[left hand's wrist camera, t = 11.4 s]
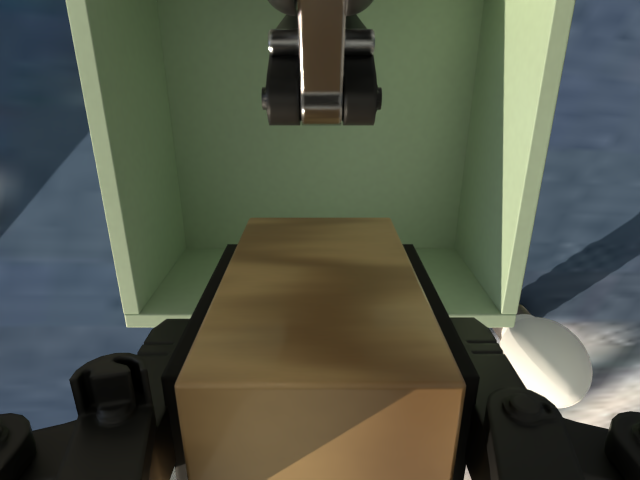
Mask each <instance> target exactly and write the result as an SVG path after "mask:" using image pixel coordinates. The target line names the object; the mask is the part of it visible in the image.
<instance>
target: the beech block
mask: <svg viewBox="0 0 640 480" xmlns="http://www.w3.org/2000/svg"><path fill="white" fill-rule="evenodd" d="M174 387H175V394H176V401H177V408H178V415H179V422H180V429H181V435H182V442H183V449H184V456H185V463H186V470H187V477H188V480H453V473H454V466H455V459H456V452H457V446H458V439H459V432H460V425H461V418H462V411H463V405H464V398H465V391H466V384H465V381H464V379H463V377H462V375H461V372H460V370H459V368H458V366H457V364H456V361H455V359H454V357H453V355H452V353H451V350H450V348H449V346H448V344H447V342H446V339H445V337H444V335H443V333H442V331H441V328H440V326H439V324H438V322H437V320H436V317H435V315H434V313H433V311H432V309H431V306H430V304H429V302H428V300H427V298H426V295H425V293H424V291H423V289H422V286H421V284H420V282H419V280H418V278H417V275H416V273H415V271H414V269H413V267H412V264H411V262H410V260H409V258H408V256H407V253H406V251H405V249H404V247H403V245H402V242H401V240H400V238H399V236H398V234H397V231H396V229H395V227H394V225H393V223H392V220H391V218H249V220H248V222H247V225H246V227H245V229H244V231H243V234H242V236H241V238H240V240H239V242H238V245H237V247H236V249H235V251H234V254H233V256H232V258H231V260H230V262H229V265H228V267H227V269H226V271H225V274H224V276H223V278H222V280H221V282H220V285H219V287H218V289H217V291H216V294H215V296H214V298H213V300H212V302H211V305H210V307H209V309H208V311H207V314H206V316H205V318H204V320H203V322H202V325H201V327H200V329H199V331H198V334H197V336H196V338H195V340H194V342H193V345H192V347H191V349H190V351H189V354H188V356H187V358H186V360H185V362H184V365H183V367H182V369H181V371H180V374H179V376H178V378H177V380H176V383H175V385H174Z"/></svg>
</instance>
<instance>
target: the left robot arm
mask: <svg viewBox="0 0 640 480" xmlns="http://www.w3.org/2000/svg"><path fill="white" fill-rule="evenodd" d="M237 245H238V244H227V246H226V248H225V250H224V252H223V254H222V256H221V258H220V260H219V262H218V264H217V266H216V268H215V270H214V272H213V274H212V276H211V278H210V280H209V282H208V284H207V286H206V288H205V290H204V292H203V294H202V296H201V298H200V300H199V302H198V304H197V306H196V308H195V310H194V312H193V314H192V316H191V318H190V319H166V320H164V321H163V322H161V323H160V324H159V325H157V326H156V327H155V328H153V329H152V330H151V332H150V334H149V335H148V337H147V338H146V340H145V342H144V345H142V346H141V348H140V350H139V351H138V354H137V355H135V354H131V353H114V354H109V355H105V356H101V357H99V358H96V359H94V360H92V361H89V362H87V363H86V364H84V365H83V366H82V367H80V368H79V369H77V370H76V371H75V373H74V374H73V375H72V377H71V378H70V379H69V380H70V384H71V388H72V392H73V396H74V400H75V404H76V408H77V412H78V418H77V420H75V421H71V422H68V423H65V424H60V425H56V426H52V427H47V428H43V429H39V430H34V431H32V429H31V426H30V422H29V420H27V419H26V418H25V417H24V416H23V415H19V414H13V413H8V414H0V480H170V477H171V474H172V472H173V469H174V466H175V471H176V477H177V480H188V477H187V470H186V463H185V456H184V449H183V442H182V435H181V429H180V422H179V415H178V408H177V401H176V394H175V387H174V385H175V383H176V380H177V378H178V376H179V374H180V371H181V369H182V367H183V365H184V362H185V360H186V358H187V356H188V354H189V351H190V349H191V347H192V345H193V342H194V340H195V338H196V336H197V334H198V331H199V329H200V327H201V325H202V322H203V320H204V318H205V316H206V314H207V311H208V309H209V307H210V305H211V302H212V300H213V298H214V296H215V294H216V291H217V289H218V287H219V285H220V282H221V280H222V278H223V276H224V274H225V271H226V269H227V267H228V265H229V262H230V260H231V258H232V256H233V254H234V251H235V249H236V247H237ZM402 245H403V247H404V249H405V251H406V253H407V256H408V258H409V260H410V262H411V264H412V267H413V269H414V271H415V273H416V275H417V278H418V280H419V282H420V284H421V286H422V289H423V291H424V293H425V295H426V298H427V300H428V302H429V304H430V306H431V309H432V311H433V313H434V315H435V317H436V320H437V322H438V324H439V326H440V328H441V331H442V333H443V335H444V337H445V339H446V342H447V344H448V346H449V348H450V350H451V353H452V355H453V357H454V359H455V361H456V364H457V366H458V368H459V370H460V372H461V375H462V377H463V379H464V381H465V384H466V391H465V398H464V405H463V411H462V418H461V425H460V432H459V439H458V446H457V452H456V459H455V466H454V473H453V480H464V474H465V468H466V465H467V468H468V471H469V474H470V476H471V479H472V480H640V412H632V411H629V412H624V413H619V414H617V415H616V416H615V417H614V418H613V419H612V421H611V424H610V427H609V429H606V428H601V427H597V426H592V425H588V424H584V423H579V422H575V421H572V420H569V419H565V418H563V417H562V415H561V414H560V412H559V410H558V409H557V407H556V406H555V405H554V404H553V403H552V402H550V401H549V400H548V399H547V398H545V397H544V396H542V395H540V394H538V393H536V392H534V391H532V390H528V389H527V388H526V387H525V385H524V383H523V382H522V380H521V379H520V377H519V376H518V374H517V372H516V371H515V369H514V368H513V366H512V364H511V363H510V361H509V360H508V358H507V356H506V355H505V354H503V350H502V348H501V347H500V345H499V344H498V343H497V341H496V339H495V337H494V336H493V334H492V333H491V331H490V329H489V328H488V327H486V326H485V325H484V324H482V323H481V322H480V321H478V320H477V319H476V318H474V317H449V315H448V313H447V311H446V309H445V307H444V305H443V303H442V301H441V299H440V297H439V295H438V293H437V291H436V289H435V287H434V285H433V283H432V281H431V279H430V277H429V275H428V273H427V271H426V269H425V267H424V265H423V263H422V261H421V259H420V257H419V255H418V253H417V251H416V249H415V247H414V245H413V244H402Z"/></svg>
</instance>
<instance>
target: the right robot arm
mask: <svg viewBox="0 0 640 480" xmlns="http://www.w3.org/2000/svg"><path fill="white" fill-rule="evenodd" d="M373 1H374V0H268V2H269V3H270V4H271V5H272V6H273V7H274V8H275V9H277V10H278V11H280V12H281V13H284V14H286V15H285V17H284V18H283V19H282V21H281V22H280V23H279V25H278V26H277V27H276V29H270V30H269V31H268V49H269V62H268V70H267V79H266V87H262V93H261V96H262V108H263V110H266V111H267V116H268V122H269V125H300V122H301V121H302V126H341V122H342V123H343V126H374V123H375V117H376V112H377V110H381V105H382V88H381V87H378V85H377V76H376V69H375V62H374V50H375V31H374V30H373V29H367V28H366V26H365V25H364V24H363V23H362V21H361V20H360V19H359V17H358V16H357V15H356V14H358V13H360V12H362V11H363V10H365V9H366V8H367V7H369V6H370V5H371V3H372V2H373ZM297 9H298V10H297Z"/></svg>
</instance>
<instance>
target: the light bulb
mask: <svg viewBox="0 0 640 480" xmlns="http://www.w3.org/2000/svg"><path fill="white" fill-rule="evenodd" d="M492 328H493V329H494V331H495V332H496V334H497V335H498V337H499V339H500V340H501V341H500V347H501V348H502V350H503V354H505V355H506V356H507V358H508V360H509V361H510V363H511V364H512V366H513V368H514V369H515V371H516V372H517V374H518V376H519V377H520V379H521V380H522V382H523V383H524V385H525V387H526V388H527V389H528V390H532V391H534V392H536V393H538V394H540V395H542V396H544V397H545V398H547V399H548V400H549V401H550V402H552V403H553V404H554V405H555V406H556V407H557V408H565V407H569V406H572V405H574V404H576V403H578V402H579V401H580V400H581V399H582V398H583V397H584V396H585V395H586V393H587V392H588V390H589V388H590V386H591V381H592V366H591V361H590V357H589V355H588V353H587V351H586V349H585V347H584V346H583V344H582V343H581V341H580V340H579V339H578V338H577V337H576V336H575V335H574V334H573V333H572V332H571V331H570V330H569V329H567V328H566V327H564V326H563V325H561V324H559V323H557V322H555V321H552V320H549V319H546V318H540V317H534V316H532V315H531V314H530V313H529V311H528V310H527V309H526V308H525V307H524V306H522V305H520V304H519V306H518V311H517V314H516V320H515V326H514V327H492Z"/></svg>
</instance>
